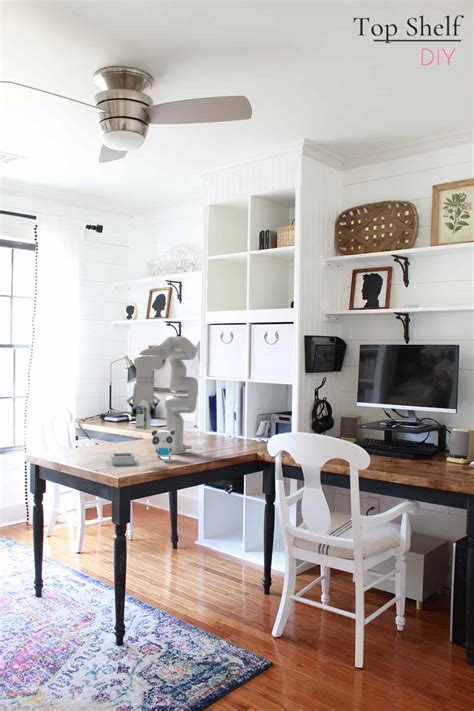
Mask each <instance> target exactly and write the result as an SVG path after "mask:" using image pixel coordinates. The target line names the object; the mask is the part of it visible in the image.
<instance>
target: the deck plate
mask: <svg viewBox="0 0 474 711" xmlns="http://www.w3.org/2000/svg"><path fill="white" fill-rule="evenodd" d="M104 463H105V466H106V467H127V466H128V467H129V466H130V467H131V466H133V467H134V466H141V464H140V461H139V460H138V459H134V465H112V463H111V460H105V461H104Z"/></svg>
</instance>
